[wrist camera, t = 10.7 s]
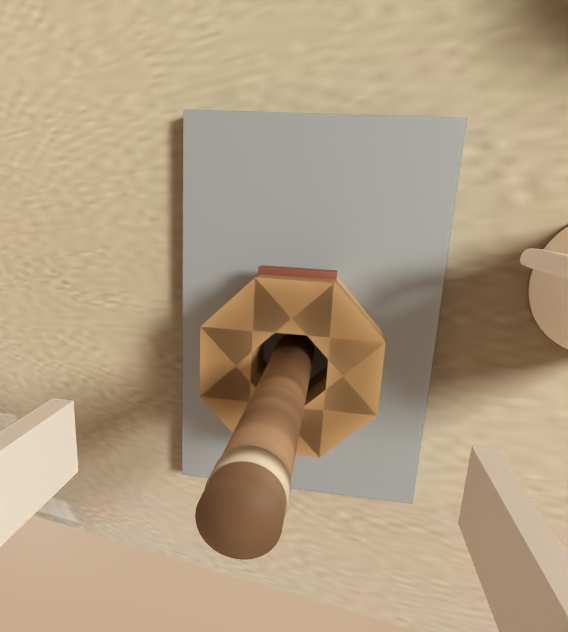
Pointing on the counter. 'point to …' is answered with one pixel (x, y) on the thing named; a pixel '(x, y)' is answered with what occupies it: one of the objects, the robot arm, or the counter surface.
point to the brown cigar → (259, 459)
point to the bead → (301, 319)
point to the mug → (550, 287)
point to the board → (323, 261)
